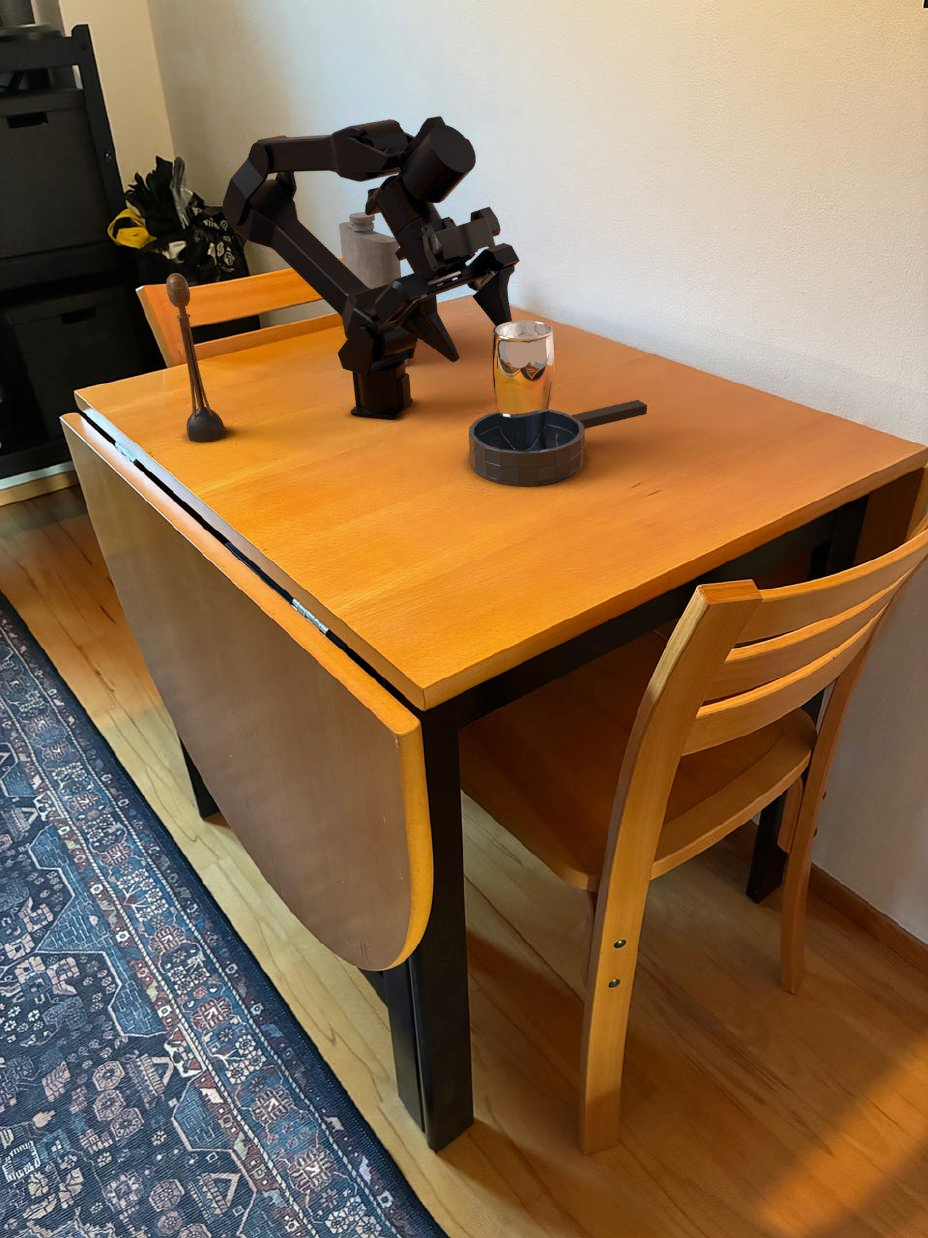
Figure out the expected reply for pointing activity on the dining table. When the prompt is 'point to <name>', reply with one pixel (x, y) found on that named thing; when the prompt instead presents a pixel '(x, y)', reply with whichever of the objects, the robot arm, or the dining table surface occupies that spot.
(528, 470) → the saucepan
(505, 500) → the dining table surface
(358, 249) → the hip flask
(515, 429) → the chrome pilsner tumbler
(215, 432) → the wooden tabletop sculpture
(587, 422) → the saucepan handle
